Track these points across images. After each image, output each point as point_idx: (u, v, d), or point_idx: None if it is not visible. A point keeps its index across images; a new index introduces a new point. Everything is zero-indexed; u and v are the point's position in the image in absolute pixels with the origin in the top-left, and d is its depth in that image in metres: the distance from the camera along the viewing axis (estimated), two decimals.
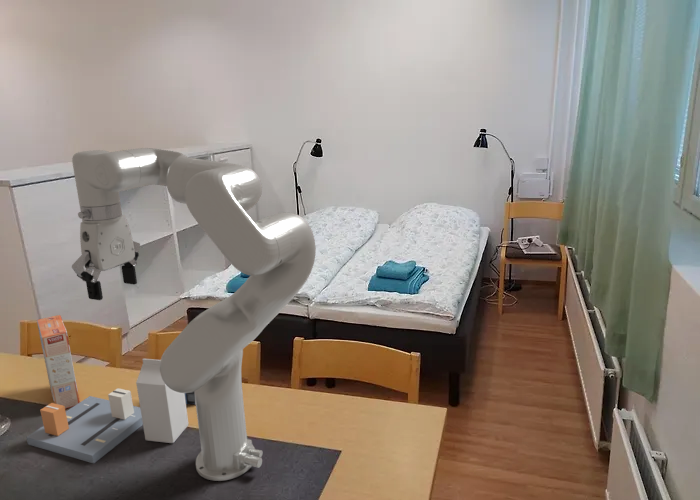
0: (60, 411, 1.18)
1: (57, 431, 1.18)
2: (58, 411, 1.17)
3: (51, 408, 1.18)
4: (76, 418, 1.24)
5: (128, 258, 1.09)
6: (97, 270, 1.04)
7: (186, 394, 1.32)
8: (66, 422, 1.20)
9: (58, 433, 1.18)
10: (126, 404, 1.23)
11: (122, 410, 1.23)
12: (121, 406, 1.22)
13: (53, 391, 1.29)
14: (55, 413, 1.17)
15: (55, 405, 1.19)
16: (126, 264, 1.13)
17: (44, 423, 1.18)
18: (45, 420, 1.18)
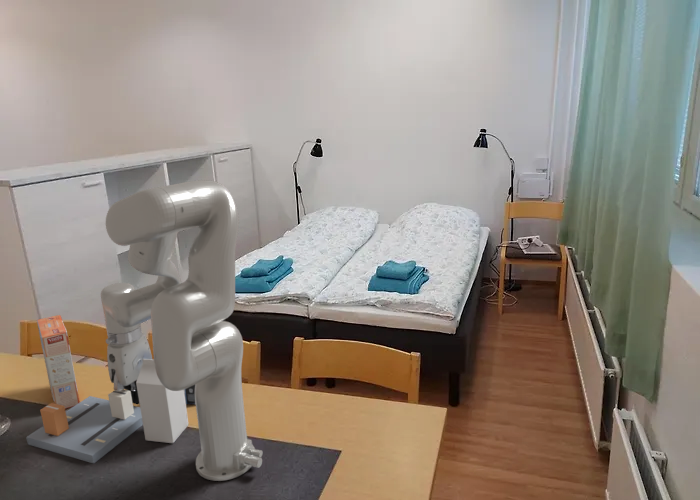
0: (60, 411, 1.18)
1: (57, 431, 1.18)
2: (58, 411, 1.17)
3: (51, 408, 1.18)
4: (76, 418, 1.24)
5: None
6: (131, 383, 1.25)
7: (186, 394, 1.32)
8: (66, 422, 1.20)
9: (58, 433, 1.18)
10: (126, 404, 1.23)
11: (122, 410, 1.23)
12: (121, 406, 1.22)
13: (53, 391, 1.29)
14: (55, 413, 1.17)
15: (55, 405, 1.19)
16: (134, 382, 1.28)
17: (44, 423, 1.18)
18: (45, 420, 1.18)
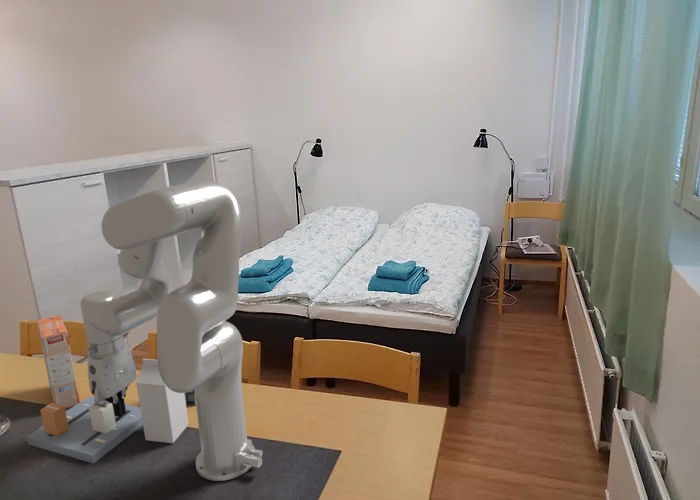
0: (60, 411, 1.18)
1: (57, 431, 1.18)
2: (58, 411, 1.17)
3: (51, 408, 1.18)
4: (76, 418, 1.24)
5: (130, 381, 1.23)
6: (113, 395, 1.20)
7: (186, 394, 1.32)
8: (66, 422, 1.20)
9: (58, 433, 1.18)
10: (107, 417, 1.18)
11: (103, 424, 1.17)
12: (102, 420, 1.17)
13: (53, 391, 1.29)
14: (55, 413, 1.17)
15: (55, 405, 1.19)
16: (116, 394, 1.23)
17: (44, 423, 1.18)
18: (45, 420, 1.18)
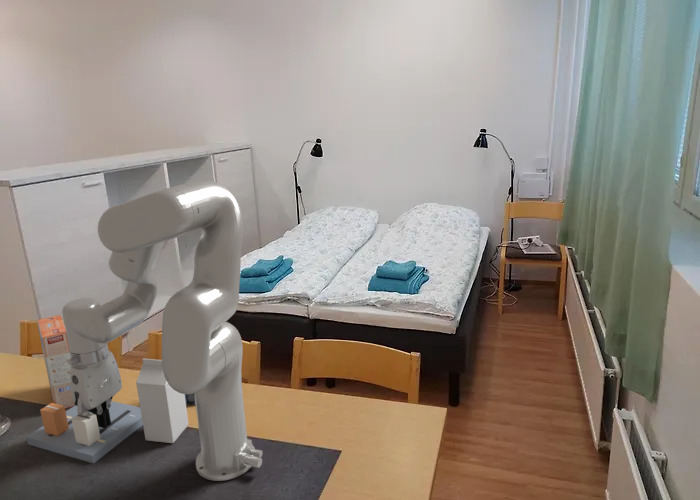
0: (60, 411, 1.18)
1: (57, 431, 1.18)
2: (58, 411, 1.17)
3: (51, 408, 1.18)
4: None
5: (115, 391, 1.19)
6: (97, 406, 1.16)
7: (186, 394, 1.32)
8: (66, 422, 1.20)
9: (58, 433, 1.18)
10: (91, 429, 1.14)
11: (86, 436, 1.13)
12: (85, 432, 1.13)
13: (53, 391, 1.29)
14: (55, 413, 1.17)
15: (55, 405, 1.19)
16: (101, 404, 1.19)
17: (44, 423, 1.18)
18: (45, 420, 1.18)
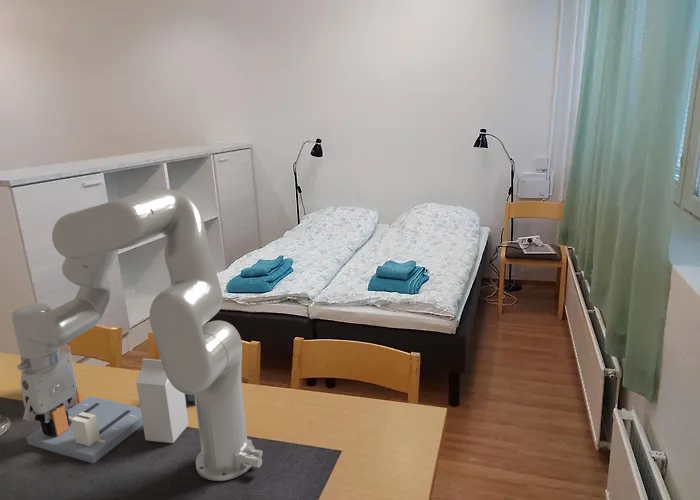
0: (60, 411, 1.18)
1: (57, 431, 1.18)
2: (58, 411, 1.17)
3: None
4: None
5: (68, 396, 1.19)
6: (45, 413, 1.15)
7: (186, 394, 1.32)
8: (66, 422, 1.20)
9: (58, 433, 1.18)
10: (91, 429, 1.14)
11: (86, 436, 1.13)
12: (85, 432, 1.13)
13: None
14: (55, 413, 1.17)
15: None
16: None
17: None
18: None
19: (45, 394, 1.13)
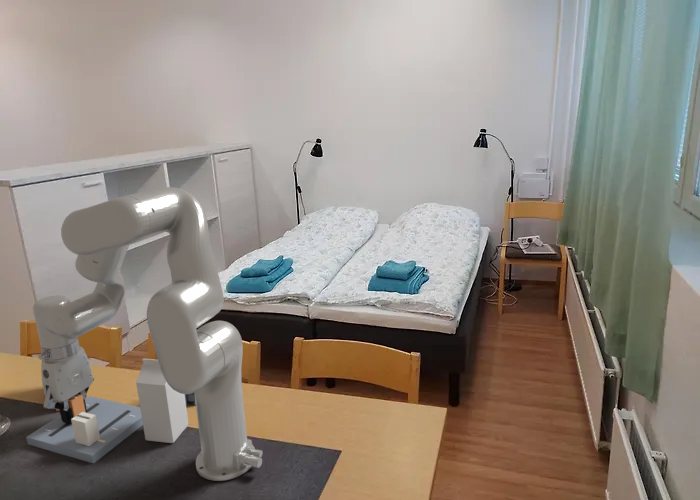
0: (78, 400, 1.22)
1: None
2: (76, 399, 1.22)
3: None
4: None
5: (86, 385, 1.23)
6: (64, 401, 1.20)
7: (186, 394, 1.32)
8: (84, 411, 1.24)
9: None
10: (91, 429, 1.14)
11: (86, 436, 1.13)
12: (85, 432, 1.13)
13: None
14: (73, 401, 1.21)
15: None
16: None
17: None
18: None
19: (64, 383, 1.18)
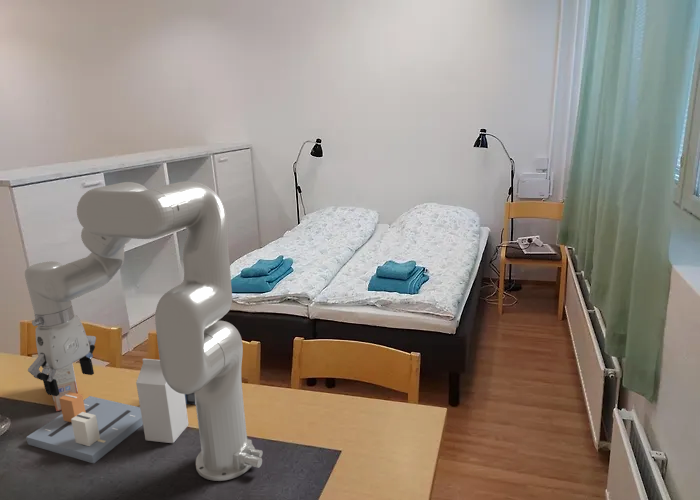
0: (78, 399, 1.22)
1: None
2: (76, 399, 1.22)
3: (69, 397, 1.22)
4: None
5: (83, 354, 1.21)
6: (52, 370, 1.15)
7: (186, 394, 1.32)
8: (84, 411, 1.24)
9: None
10: (91, 429, 1.14)
11: (86, 436, 1.13)
12: (85, 432, 1.13)
13: None
14: (73, 401, 1.21)
15: (73, 394, 1.23)
16: (83, 357, 1.24)
17: (63, 411, 1.23)
18: (63, 408, 1.22)
19: (60, 350, 1.15)
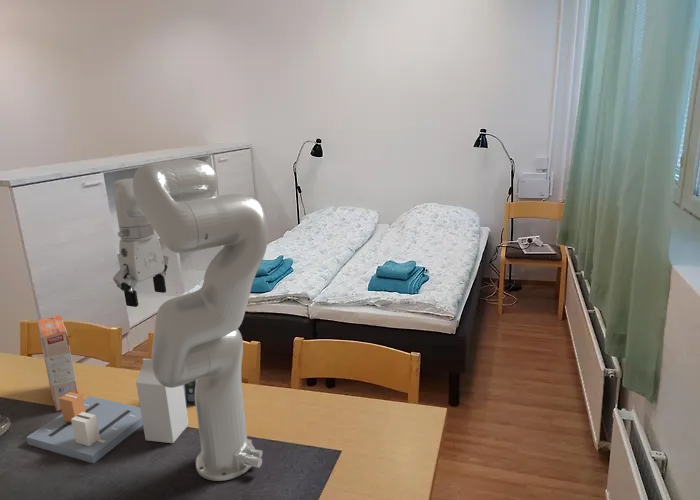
0: (78, 399, 1.22)
1: None
2: (76, 399, 1.22)
3: (69, 397, 1.22)
4: None
5: (159, 270, 1.26)
6: (134, 281, 1.21)
7: (186, 394, 1.32)
8: (84, 411, 1.24)
9: None
10: (91, 429, 1.14)
11: (86, 436, 1.13)
12: (85, 432, 1.13)
13: (53, 391, 1.29)
14: (73, 401, 1.21)
15: (73, 394, 1.23)
16: (157, 275, 1.30)
17: (63, 411, 1.23)
18: (63, 408, 1.22)
19: (141, 263, 1.21)
